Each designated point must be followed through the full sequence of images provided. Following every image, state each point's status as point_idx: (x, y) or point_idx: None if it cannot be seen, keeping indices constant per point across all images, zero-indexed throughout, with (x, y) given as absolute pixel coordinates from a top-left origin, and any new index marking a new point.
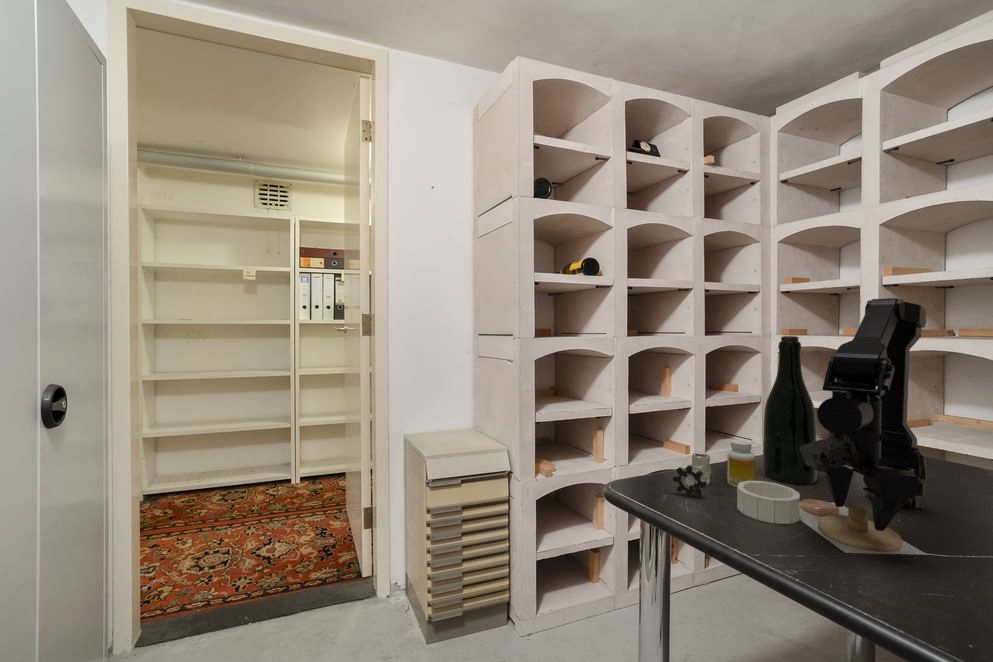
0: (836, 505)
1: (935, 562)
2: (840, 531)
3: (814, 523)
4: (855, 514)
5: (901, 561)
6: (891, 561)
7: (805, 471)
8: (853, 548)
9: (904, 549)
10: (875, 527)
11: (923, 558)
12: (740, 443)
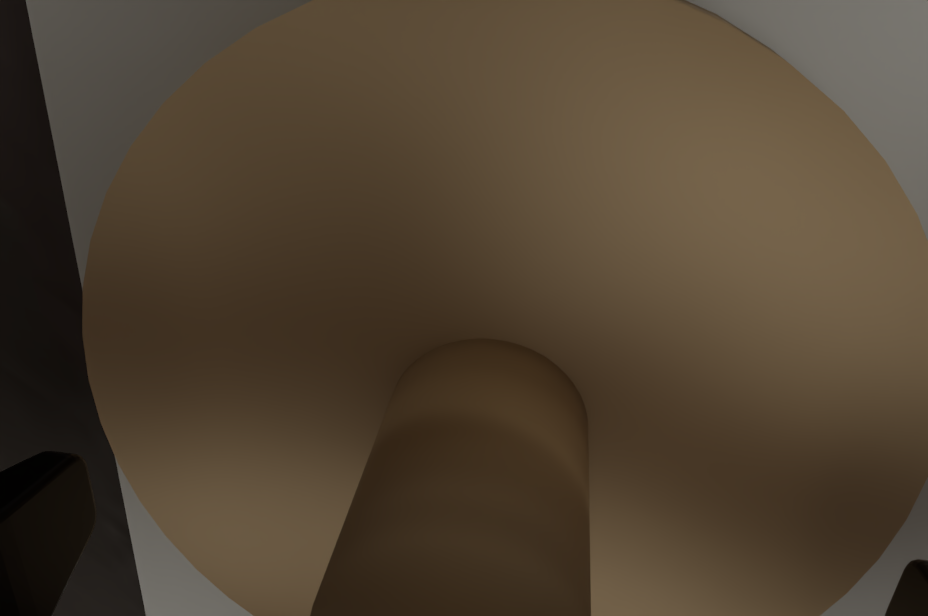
0: (923, 566)
1: (81, 587)
2: (422, 165)
3: (896, 89)
4: (376, 508)
5: (31, 373)
6: (6, 290)
7: None
8: (135, 74)
9: None
10: (45, 467)
11: (131, 565)
12: None
